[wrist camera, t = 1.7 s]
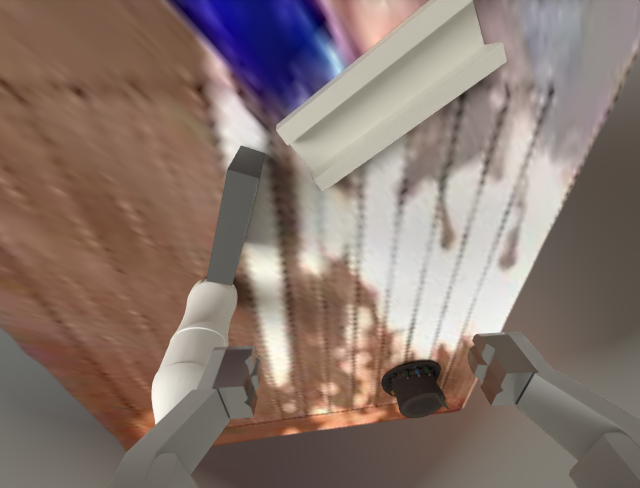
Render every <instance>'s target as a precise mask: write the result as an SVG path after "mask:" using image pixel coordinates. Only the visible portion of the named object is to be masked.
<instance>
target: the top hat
mask: <svg viewBox="0 0 640 488" xmlns="http://www.w3.org/2000/svg"><path fill="white" fill-rule="evenodd" d="M440 370H441V369H440V366H439V365H438V364H437V363H435V362H428V361H427V362H415V363H410V364H406V365H403V366H399V367H397V368H395V369H392V370H391V371H389V372H387V373H386V374H385V375H384V376H383V378H382V382H381V383H382V387H383V389H384V390H385V392H386V393H388V394H389V395H391V396H393V397H397V402H398V406H399V410H400V413H401V414H402V415H404V416H405V417H409V418H419V417H424V416H428V415H430V414H432V413H434V412H436V411H437V410H438V409H439V408H440V407H441V406H442V405H443V406H444V407H446V408H447V409H449V408H448V407H447V405H446V403H445V399H446V398H445V395H444V394H443V392H442V391H441V389H440V388H439V386H438V385H437V383H436V380H437V379H438V377H439V374H440Z"/></svg>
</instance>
